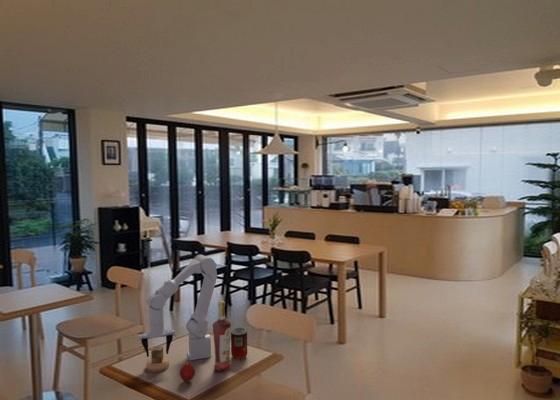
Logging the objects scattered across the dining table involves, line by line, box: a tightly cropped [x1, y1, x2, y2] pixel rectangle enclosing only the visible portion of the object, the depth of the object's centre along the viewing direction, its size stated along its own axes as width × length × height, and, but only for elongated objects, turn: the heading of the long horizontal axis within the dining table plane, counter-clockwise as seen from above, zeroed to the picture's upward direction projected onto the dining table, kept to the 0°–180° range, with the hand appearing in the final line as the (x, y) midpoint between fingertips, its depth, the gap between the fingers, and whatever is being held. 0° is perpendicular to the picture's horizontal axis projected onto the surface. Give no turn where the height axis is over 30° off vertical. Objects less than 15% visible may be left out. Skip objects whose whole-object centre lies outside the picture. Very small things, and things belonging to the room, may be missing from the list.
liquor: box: [212, 300, 232, 372], centre depth 166 cm, size 7×7×28 cm
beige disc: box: [145, 355, 170, 373], centre depth 169 cm, size 9×9×2 cm
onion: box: [179, 361, 196, 383], centre depth 156 cm, size 6×6×8 cm
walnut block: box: [150, 345, 164, 364], centre depth 168 cm, size 4×4×6 cm
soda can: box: [230, 327, 248, 361], centre depth 177 cm, size 7×7×12 cm
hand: (157, 354), depth 168 cm, fingers open, 7 cm apart
